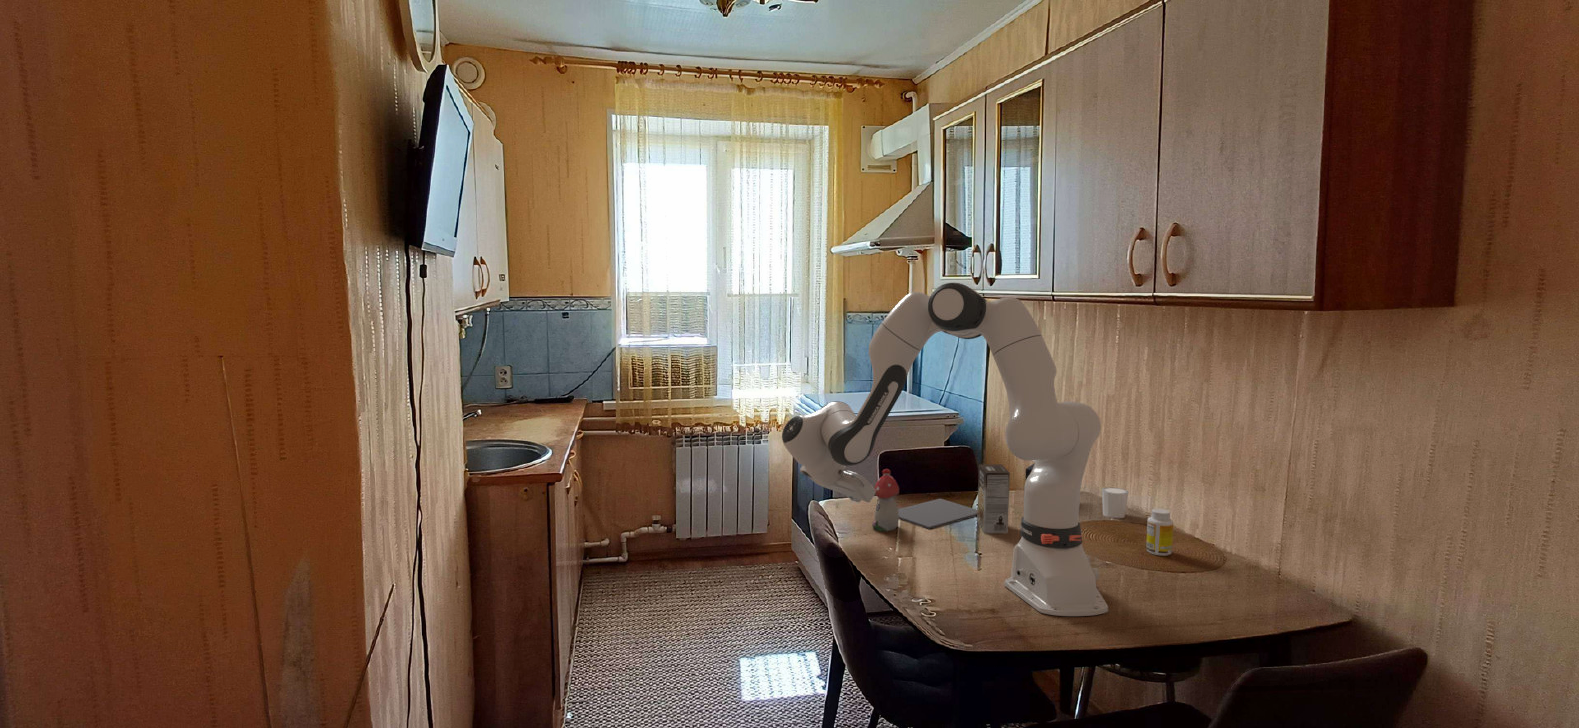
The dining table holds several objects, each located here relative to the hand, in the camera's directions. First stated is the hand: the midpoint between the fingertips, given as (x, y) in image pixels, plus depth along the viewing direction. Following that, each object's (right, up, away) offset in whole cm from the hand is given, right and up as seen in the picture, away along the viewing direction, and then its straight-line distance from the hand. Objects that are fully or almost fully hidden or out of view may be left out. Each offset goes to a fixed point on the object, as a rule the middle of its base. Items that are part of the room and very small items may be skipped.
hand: (856, 499), depth 195 cm
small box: (+57, -6, +31) cm, 65 cm away
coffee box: (+36, -9, +6) cm, 38 cm away
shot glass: (+73, -8, +17) cm, 75 cm away
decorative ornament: (+8, -9, +7) cm, 14 cm away
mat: (+23, -7, +18) cm, 30 cm away
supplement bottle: (+71, -11, -12) cm, 73 cm away
